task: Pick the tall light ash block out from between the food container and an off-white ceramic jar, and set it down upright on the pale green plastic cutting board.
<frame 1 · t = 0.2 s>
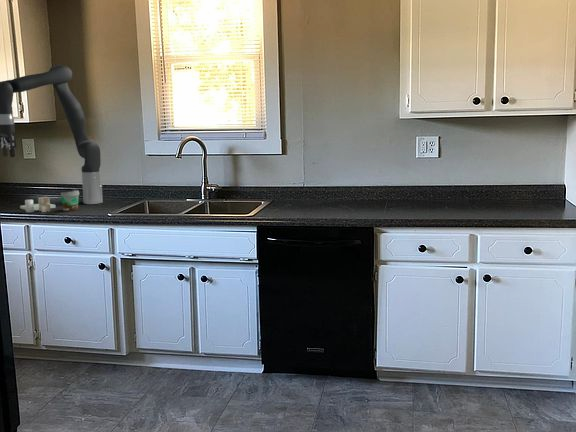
hand: (8, 156, 326), 28 cm above the worktop, fingers open, 8 cm apart
ash block: (44, 211, 337), on the worktop
ceramic jar: (29, 211, 335), on the worktop
cutting board: (38, 208, 346), on the worktop
food container: (73, 210, 338), on the worktop
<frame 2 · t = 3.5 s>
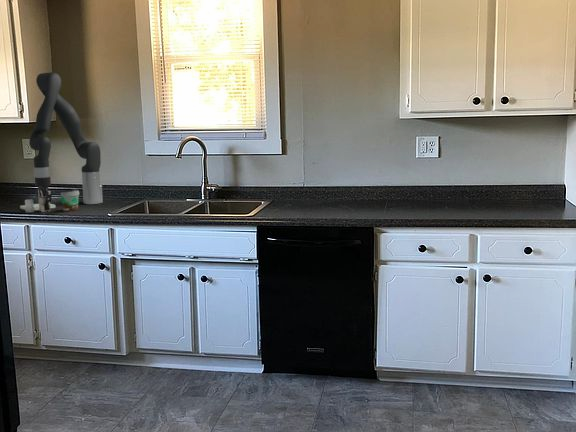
hand: (44, 209, 337), 1 cm above the worktop, fingers closed on ash block, 4 cm apart
ash block: (44, 211, 337), on the worktop, touching gripper
everything else where it was.
when the fingers open (4 cm above the worktop, at t = 9.3 s): ash block drops 1 cm, resting on cutting board.
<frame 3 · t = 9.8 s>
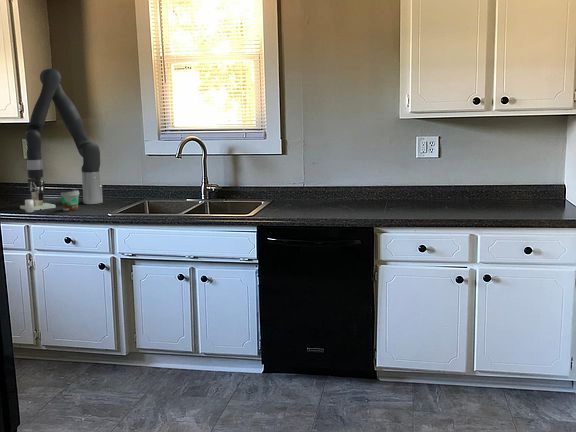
hand: (37, 199, 346), 5 cm above the worktop, fingers open, 8 cm apart
ash block: (37, 205, 346), point 1 cm above the worktop, touching cutting board
everything else where it was.
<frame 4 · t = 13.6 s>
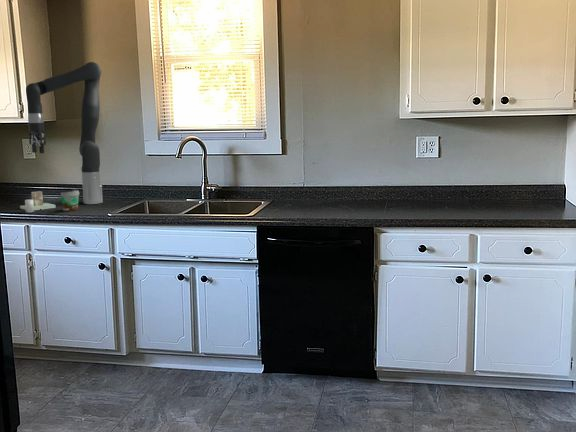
hand: (38, 152, 351), 28 cm above the worktop, fingers open, 8 cm apart
nothing on the worktop moved.
at the end: ash block inside the target area on the cutting board (0.0 cm from its centre), point 1.5 cm above the cutting board's base; ash block tilted 0°; the gripper is holding nothing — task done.
